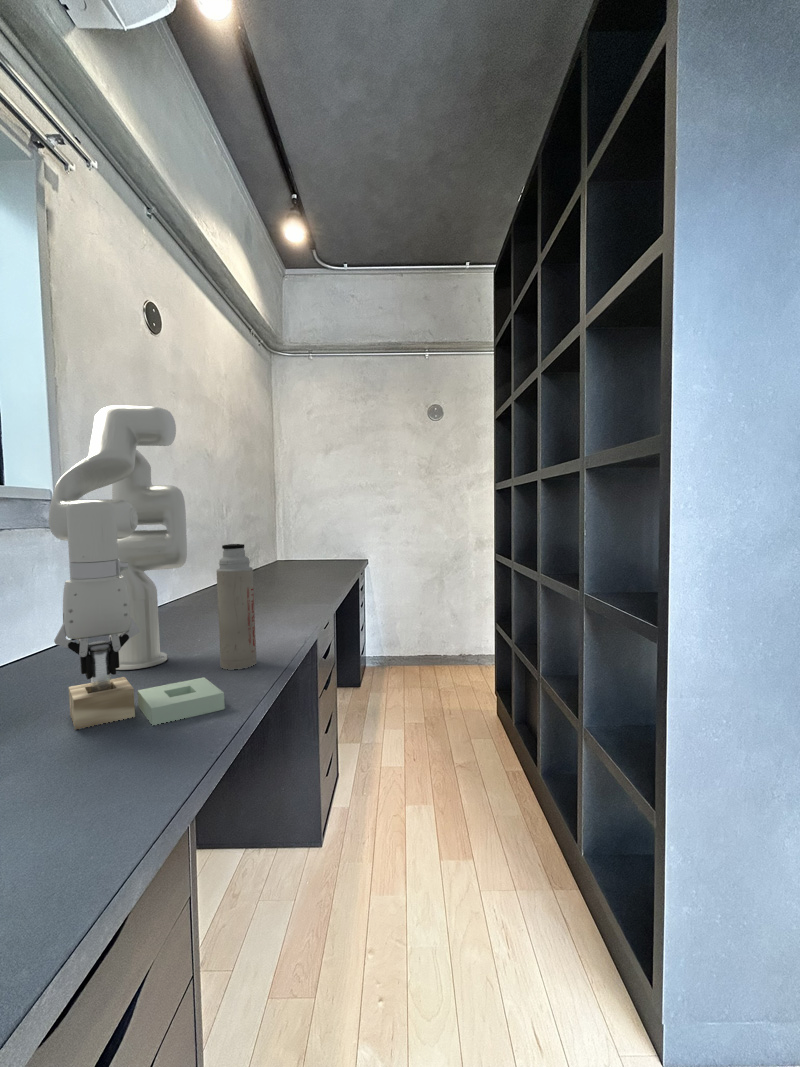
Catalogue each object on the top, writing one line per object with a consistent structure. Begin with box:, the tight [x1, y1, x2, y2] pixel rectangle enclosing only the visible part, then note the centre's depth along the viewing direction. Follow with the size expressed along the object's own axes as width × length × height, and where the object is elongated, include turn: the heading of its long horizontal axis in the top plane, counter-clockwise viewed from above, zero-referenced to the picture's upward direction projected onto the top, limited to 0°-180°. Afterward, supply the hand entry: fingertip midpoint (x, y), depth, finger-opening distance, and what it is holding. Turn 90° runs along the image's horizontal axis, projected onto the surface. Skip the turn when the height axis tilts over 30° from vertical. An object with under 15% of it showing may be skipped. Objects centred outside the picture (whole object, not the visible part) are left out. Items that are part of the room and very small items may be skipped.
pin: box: [87, 640, 112, 693], centre depth 97 cm, size 4×4×12 cm
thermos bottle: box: [216, 543, 257, 671], centre depth 126 cm, size 8×8×28 cm
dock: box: [137, 676, 226, 727], centre depth 99 cm, size 12×12×3 cm
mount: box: [68, 676, 136, 731], centre depth 96 cm, size 9×9×5 cm
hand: (100, 674), depth 97 cm, fingers closed on pin, 3 cm apart
